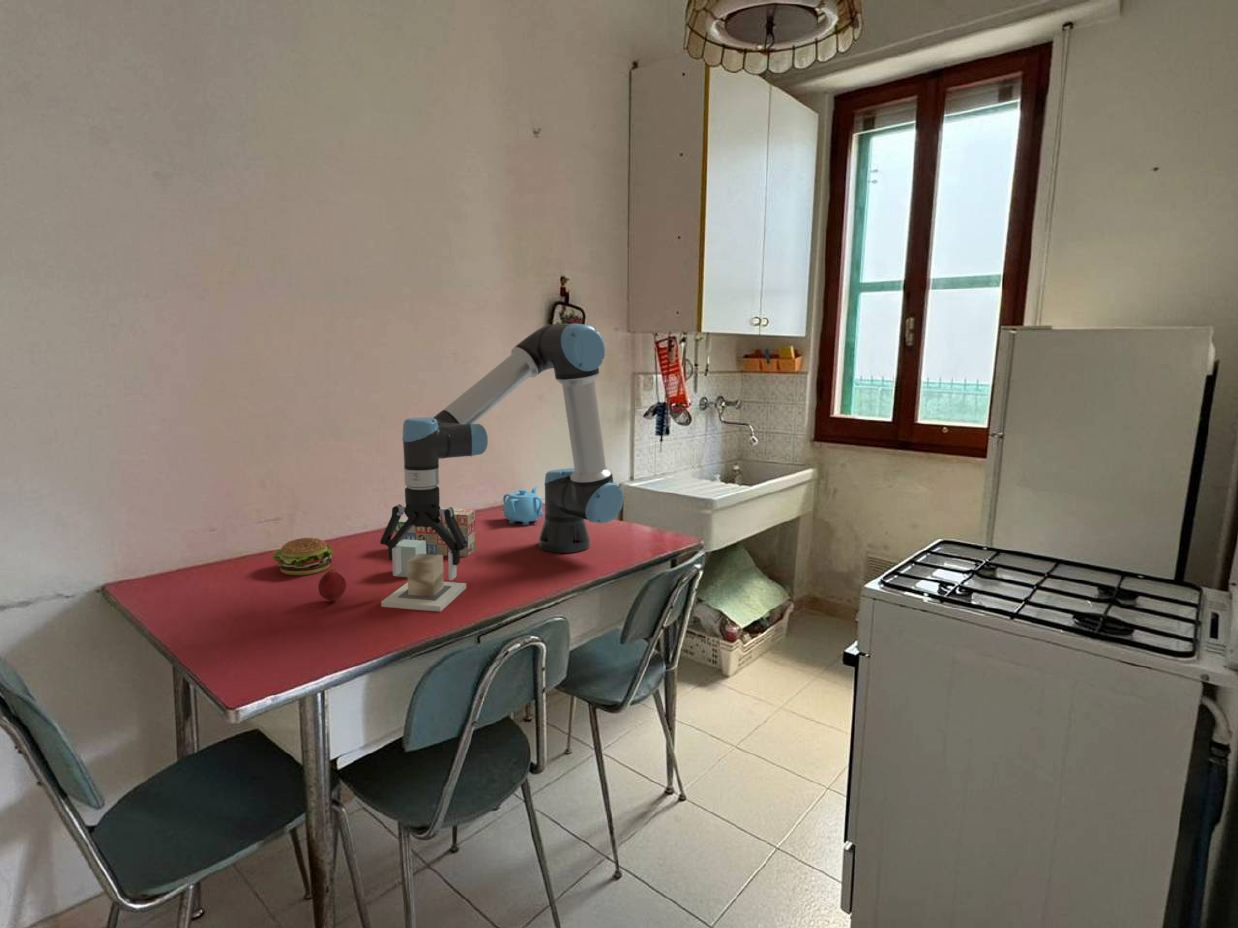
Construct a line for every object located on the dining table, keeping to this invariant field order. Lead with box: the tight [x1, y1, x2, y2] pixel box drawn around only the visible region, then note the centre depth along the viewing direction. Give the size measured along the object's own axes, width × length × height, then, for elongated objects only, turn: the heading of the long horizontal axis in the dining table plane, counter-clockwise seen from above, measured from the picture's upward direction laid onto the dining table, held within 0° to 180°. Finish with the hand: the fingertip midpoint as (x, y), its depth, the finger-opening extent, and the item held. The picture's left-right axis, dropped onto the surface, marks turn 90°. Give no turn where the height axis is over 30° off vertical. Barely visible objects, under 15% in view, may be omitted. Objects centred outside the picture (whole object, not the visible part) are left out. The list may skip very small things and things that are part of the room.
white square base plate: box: [380, 581, 467, 612], centre depth 156 cm, size 14×15×1 cm
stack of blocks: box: [394, 507, 476, 558], centre depth 190 cm, size 21×6×12 cm, turn 84°
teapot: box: [502, 486, 544, 526], centre depth 225 cm, size 13×14×11 cm
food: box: [271, 537, 334, 576], centre depth 173 cm, size 14×14×8 cm
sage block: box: [396, 539, 426, 578], centre depth 172 cm, size 6×6×8 cm
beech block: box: [407, 554, 445, 597], centre depth 156 cm, size 6×6×8 cm
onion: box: [317, 567, 347, 603], centre depth 152 cm, size 6×6×8 cm
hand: (424, 576), depth 155 cm, fingers open, 13 cm apart
